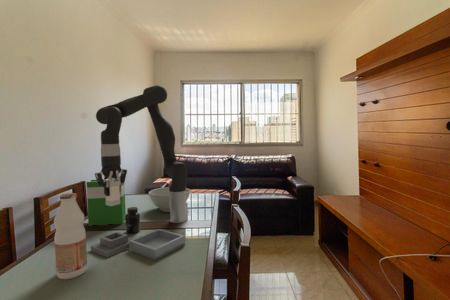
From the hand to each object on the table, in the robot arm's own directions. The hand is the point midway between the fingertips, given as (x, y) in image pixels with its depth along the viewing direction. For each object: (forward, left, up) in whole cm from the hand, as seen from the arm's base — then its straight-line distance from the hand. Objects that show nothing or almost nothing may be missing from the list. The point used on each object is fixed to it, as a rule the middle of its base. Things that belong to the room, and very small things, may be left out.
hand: (112, 194), depth 108 cm
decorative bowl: (-54, -22, -23) cm, 63 cm away
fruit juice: (+20, +6, -23) cm, 31 cm away
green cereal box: (-17, -33, -23) cm, 44 cm away
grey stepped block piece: (0, 0, -23) cm, 23 cm away
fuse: (0, 0, -4) cm, 4 cm away
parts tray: (-10, +16, -23) cm, 30 cm away
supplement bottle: (-16, -9, -23) cm, 30 cm away
